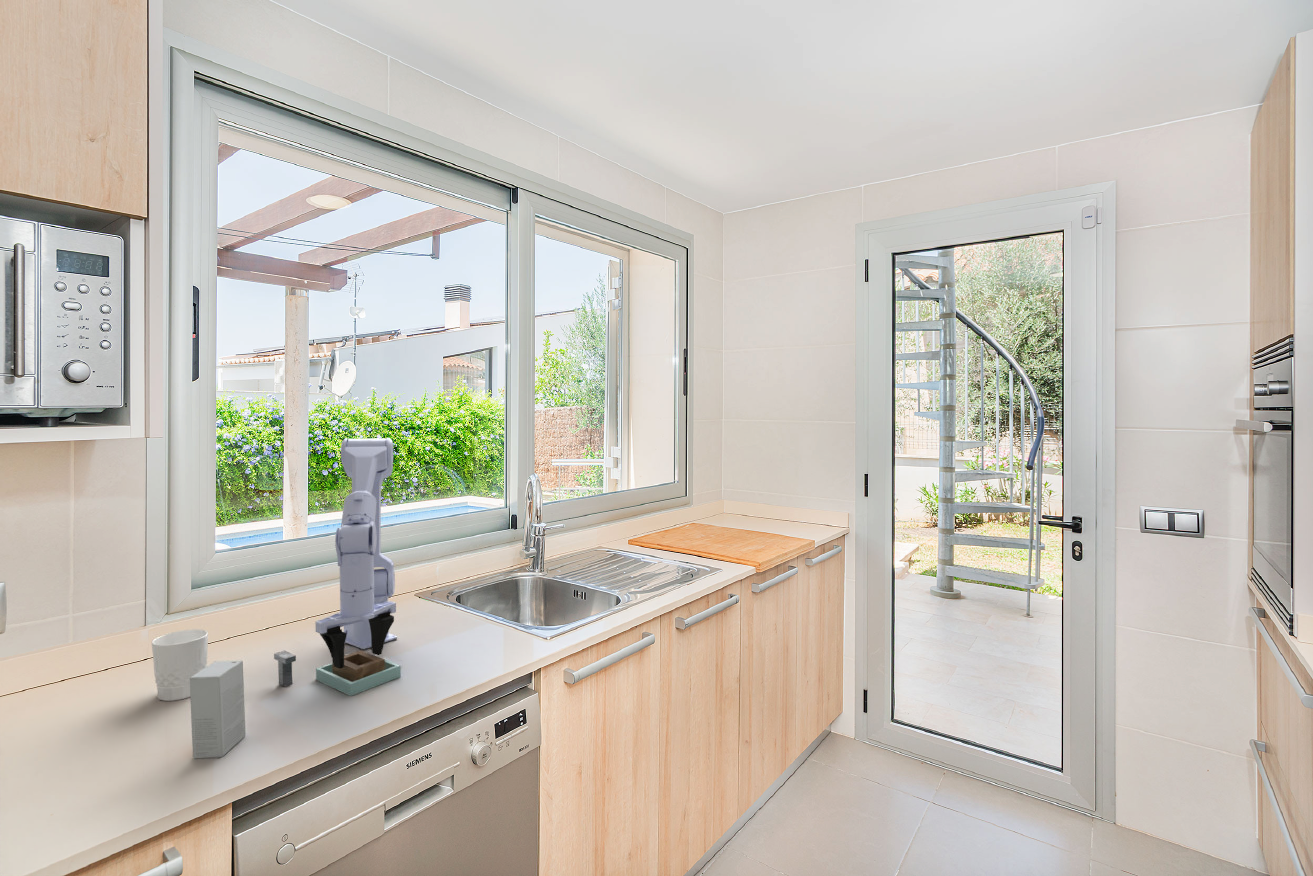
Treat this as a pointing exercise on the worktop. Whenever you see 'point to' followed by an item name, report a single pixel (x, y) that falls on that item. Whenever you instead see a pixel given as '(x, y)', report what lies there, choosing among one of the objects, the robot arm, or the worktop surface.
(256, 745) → the worktop surface
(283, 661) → the t post
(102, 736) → the worktop surface
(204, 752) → the skincare box
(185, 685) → the white cup
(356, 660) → the frame ring
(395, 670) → the tray
